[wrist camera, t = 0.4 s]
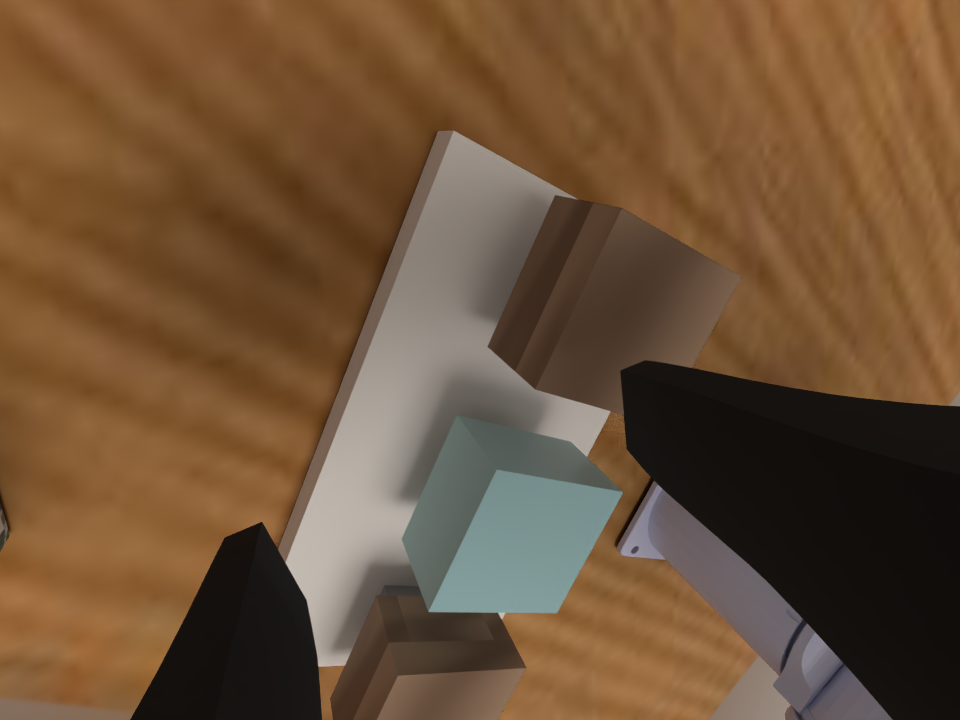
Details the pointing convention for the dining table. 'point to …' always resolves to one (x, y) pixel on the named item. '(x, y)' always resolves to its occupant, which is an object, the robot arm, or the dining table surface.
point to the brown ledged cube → (606, 303)
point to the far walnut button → (427, 665)
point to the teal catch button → (505, 520)
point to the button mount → (421, 385)
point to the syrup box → (3, 529)
